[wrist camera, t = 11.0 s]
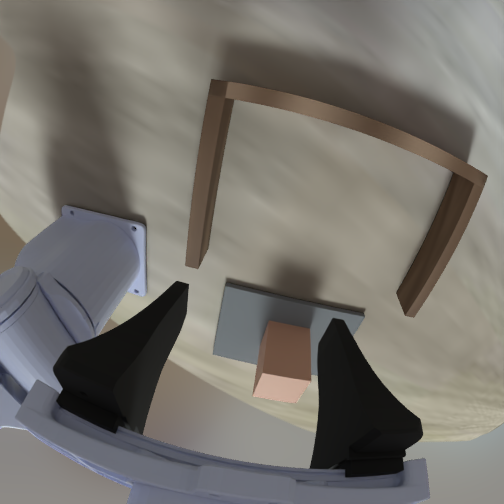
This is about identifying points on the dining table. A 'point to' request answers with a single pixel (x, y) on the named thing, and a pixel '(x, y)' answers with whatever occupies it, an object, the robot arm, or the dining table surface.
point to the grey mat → (274, 309)
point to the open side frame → (463, 180)
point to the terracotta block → (283, 363)
